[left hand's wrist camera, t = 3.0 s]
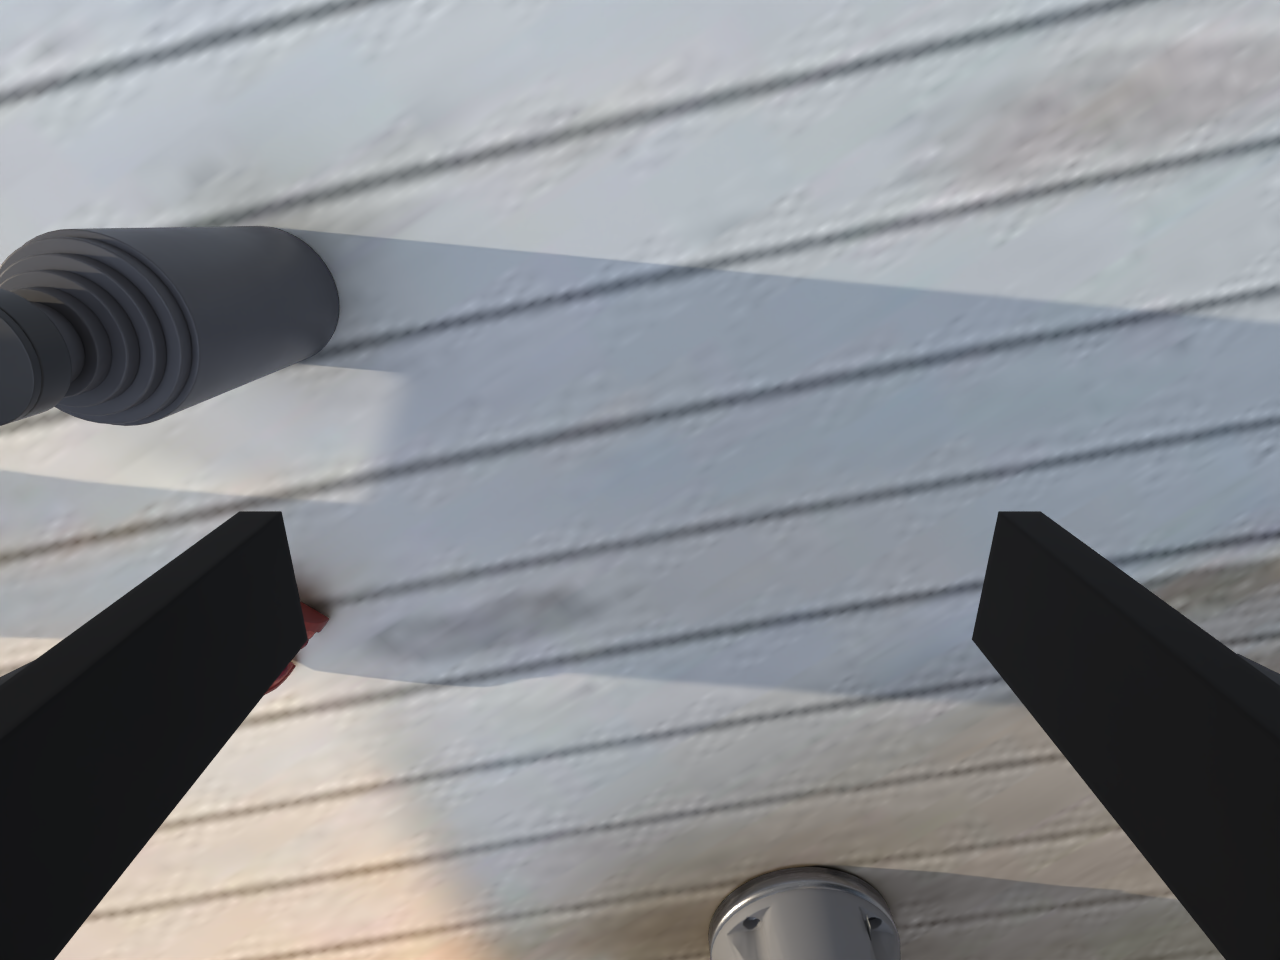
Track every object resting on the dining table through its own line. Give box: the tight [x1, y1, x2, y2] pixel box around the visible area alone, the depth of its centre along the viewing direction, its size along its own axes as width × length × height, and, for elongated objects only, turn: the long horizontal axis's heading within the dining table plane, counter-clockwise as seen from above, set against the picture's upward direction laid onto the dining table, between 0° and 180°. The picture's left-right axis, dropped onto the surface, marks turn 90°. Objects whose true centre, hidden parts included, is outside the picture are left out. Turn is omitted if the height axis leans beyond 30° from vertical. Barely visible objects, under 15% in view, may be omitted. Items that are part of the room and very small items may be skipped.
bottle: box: [0, 226, 339, 426], centre depth 29 cm, size 7×7×18 cm
